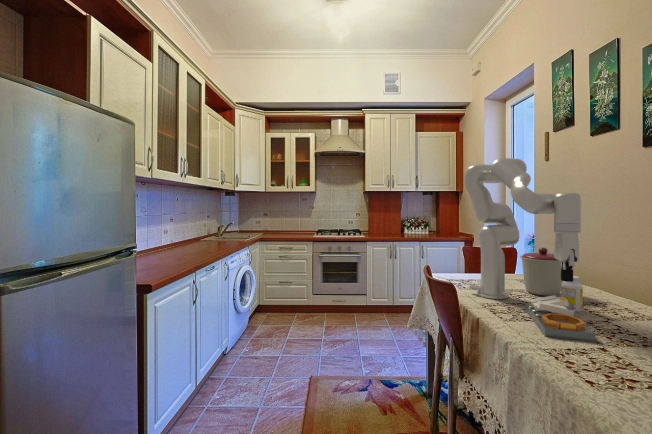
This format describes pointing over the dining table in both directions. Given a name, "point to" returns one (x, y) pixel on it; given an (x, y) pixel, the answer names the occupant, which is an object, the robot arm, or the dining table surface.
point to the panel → (560, 325)
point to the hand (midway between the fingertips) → (566, 280)
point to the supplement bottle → (573, 294)
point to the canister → (542, 273)
